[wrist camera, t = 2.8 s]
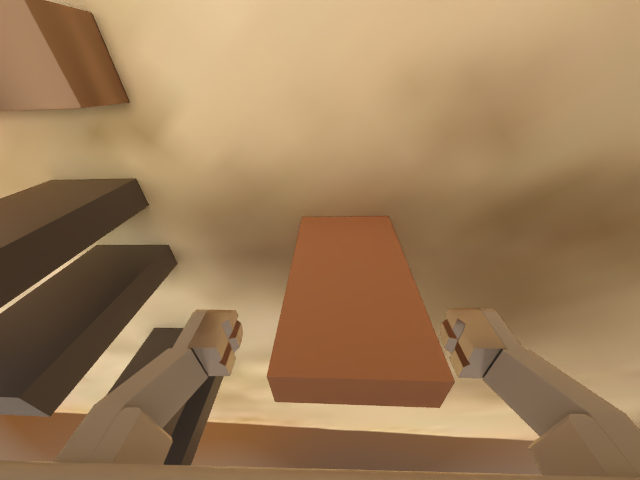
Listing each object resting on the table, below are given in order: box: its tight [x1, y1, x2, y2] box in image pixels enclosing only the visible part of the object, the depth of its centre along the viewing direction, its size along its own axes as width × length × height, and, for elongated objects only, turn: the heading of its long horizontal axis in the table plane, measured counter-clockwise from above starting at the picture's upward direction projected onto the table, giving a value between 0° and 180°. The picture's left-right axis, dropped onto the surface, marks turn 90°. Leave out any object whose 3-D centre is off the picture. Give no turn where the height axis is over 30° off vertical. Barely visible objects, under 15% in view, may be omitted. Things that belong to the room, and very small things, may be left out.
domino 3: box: [106, 328, 186, 436], centre depth 18 cm, size 2×5×9 cm, turn 92°
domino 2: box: [0, 245, 177, 417], centre depth 12 cm, size 2×5×9 cm, turn 92°
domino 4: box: [163, 376, 223, 466], centre depth 20 cm, size 2×5×9 cm, turn 92°
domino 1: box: [0, 179, 148, 308], centre depth 10 cm, size 2×5×9 cm, turn 92°
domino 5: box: [267, 216, 455, 408], centre depth 11 cm, size 2×5×9 cm, turn 92°
